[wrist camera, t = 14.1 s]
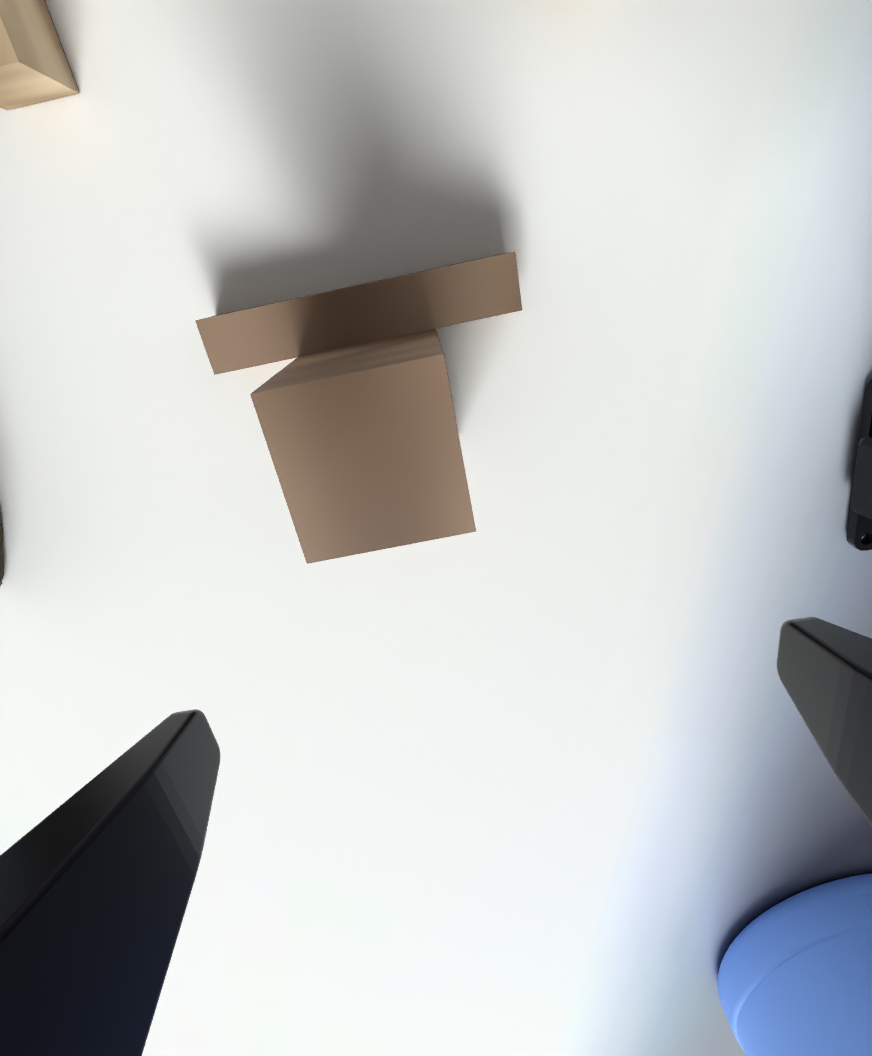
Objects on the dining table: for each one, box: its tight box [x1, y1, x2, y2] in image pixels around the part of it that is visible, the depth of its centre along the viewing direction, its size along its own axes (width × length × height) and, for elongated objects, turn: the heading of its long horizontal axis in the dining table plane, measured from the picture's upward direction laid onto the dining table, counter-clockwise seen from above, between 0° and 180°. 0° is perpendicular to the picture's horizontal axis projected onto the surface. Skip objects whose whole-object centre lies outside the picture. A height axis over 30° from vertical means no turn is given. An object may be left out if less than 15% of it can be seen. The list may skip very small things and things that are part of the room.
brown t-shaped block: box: [196, 252, 522, 564], centre depth 15 cm, size 9×6×7 cm, turn 101°
